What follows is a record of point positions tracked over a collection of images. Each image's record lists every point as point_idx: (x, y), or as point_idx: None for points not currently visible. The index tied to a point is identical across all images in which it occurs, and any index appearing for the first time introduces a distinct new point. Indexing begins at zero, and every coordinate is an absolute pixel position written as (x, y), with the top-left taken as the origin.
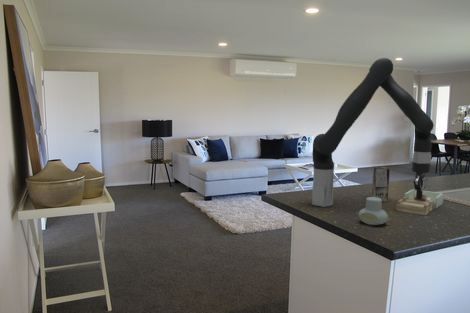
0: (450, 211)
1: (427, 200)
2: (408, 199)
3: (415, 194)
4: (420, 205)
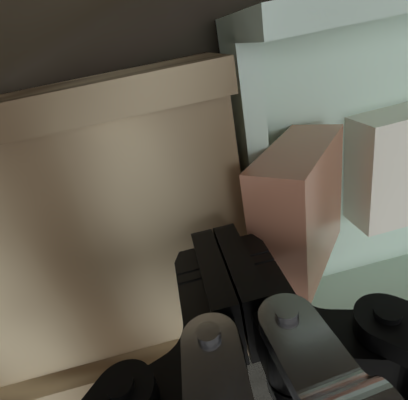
0: (257, 363)
1: (365, 224)
2: (173, 120)
3: (290, 192)
4: (11, 345)
